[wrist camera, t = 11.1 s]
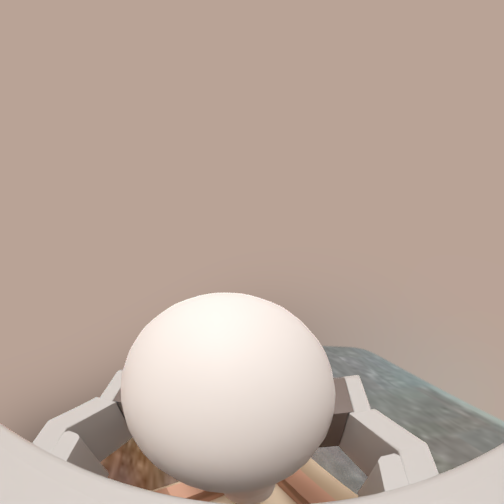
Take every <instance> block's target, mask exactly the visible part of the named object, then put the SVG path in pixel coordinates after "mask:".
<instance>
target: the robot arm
mask: <svg viewBox="0 0 504 504" xmlns="http://www.w3.org/2000/svg"><path fill="white" fill-rule="evenodd" d="M122 371H123V370H119V371H117V373H116V374H115V376H114V377H113V379H112V380H111V382H110V383H109V385H108V386H107V388H106V389H105V391H104V392H103V394H102V395H101V397H100V398H98V397H96V398H94V399H92V400H90V401H88V402H86V403H84V404H82V405H80V406H78V407H76V408H74V409H72V410H70V411H68V412H66V413H64V414H62V415H59V416H57V417H55V418H53V419H51V420H49V421H48V422H47V423H46V425H45V426H44V427H43V429H42V430H41V432H40V433H39V434H38V436H37V437H36V439H35V440H34V442H33V443H31V442H29V441H27V440H26V439H24V438H22V437H21V436H19V435H18V434H16V433H14V432H13V431H11V430H10V429H8V428H7V427H5V426H4V425H2V424H1V423H0V504H226V503H216V502H207V501H200V500H193V499H187V498H181V497H176V496H171V495H166V494H162V493H158V492H153V491H149V490H145V489H142V488H138V487H135V486H131V485H128V484H125V483H121V482H118V481H115V480H112V479H109V478H107V477H108V475H109V474H108V471H107V470H106V469H105V468H104V467H103V465H102V464H101V463H100V462H101V461H102V460H103V459H105V458H106V457H107V456H109V455H110V454H111V453H113V452H114V451H115V450H117V449H118V448H119V447H121V446H122V445H123V444H125V443H126V442H127V441H128V440H130V439H131V438H132V435H131V433H130V431H129V430H128V426H127V423H126V420H125V416H124V412H123V408H122V403H121V377H122ZM333 379H334V386H335V393H336V394H335V406H334V413H333V418H332V422H331V424H330V427H329V430H328V432H327V435H326V437H325V439H324V440H323V442H322V443H321V445H320V446H319V447H331V446H339V447H340V448H341V449H342V451H343V452H344V453H345V454H346V455H347V456H348V457H349V458H350V459H351V460H352V461H353V462H354V463H355V464H356V465H357V466H358V467H359V468H360V469H361V470H362V471H363V472H364V473H365V474H366V475H367V476H368V478H367V479H366V481H365V482H364V484H363V485H362V487H361V488H360V490H359V491H358V497H357V498H351V499H345V500H339V501H331V502H323V503H313V504H504V443H503V444H501V445H499V446H498V447H496V448H494V449H492V450H490V451H489V452H487V453H485V454H483V455H481V456H479V457H477V458H475V459H473V460H471V461H469V462H467V463H465V464H462V465H460V466H458V467H456V468H453V469H451V470H449V471H446V472H444V473H441V474H439V473H438V470H437V468H436V465H435V463H434V460H433V458H432V455H431V453H430V450H429V448H428V445H427V443H425V442H424V441H422V440H420V439H419V438H417V437H416V436H414V435H413V434H411V433H410V432H408V431H407V430H405V429H404V428H402V427H401V426H399V425H398V424H396V423H395V422H393V421H392V420H390V419H389V418H388V417H386V416H385V415H383V414H382V413H380V412H379V411H377V410H376V409H373V410H371V408H370V405H369V402H368V399H367V396H366V393H365V390H364V388H363V385H362V382H361V379H360V377H359V376H358V375H355V376H347V377H338V378H333Z"/></svg>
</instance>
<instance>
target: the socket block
mask: <svg viewBox="0 0 504 504" xmlns="http://www.w3.org/2000/svg"><path fill="white" fill-rule="evenodd" d="M152 491H153V492H158V493H162V494H166V495H171V496H176V497H181V498H187V499H193V500H200V501H207V502H216V503H226V504H237V503H234V502H232V501H231V500H229V499H228V498H227V497H226V496H225V494H224V493H217V492H209V491H204V490H201V489H198V488H194V487H191V486H188V485H186V484H184V483H182V482H177V483H174V484H171V485H168V486H165V487H162V488H158V489H155V490H152ZM357 497H358V495H356V494H355V493H354V492H352V491H351V490H350V489H348V488H347V487H346V486H344V485H343V484H342V483H341V482H339V481H338V480H337V479H335V478H334V477H333V476H332V475H331V474H329V473H328V472H327V471H326V470H324V469H323V468H322V467H321V466H320V465H318V464H317V463H316V462H315V461H314V460H313V459H311V458H310V459H309V461H308V462H307V463H306V464H305V465H303V466H302V467H301V468H300V469H299V470H298V471H296V472H295V473H294V474H293V475H291V476H289V477H288V478H286V479H284V480H282V481H280V482H278V483H276V484H275V488H274V491H273V493H272V494H271V496H270V497H269V498H268V499H266V500H265V501H263V502H261V503H259V504H313V503H323V502H331V501H339V500H345V499H351V498H357Z"/></svg>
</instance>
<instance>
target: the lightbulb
mask: <svg viewBox="0 0 504 504" xmlns="http://www.w3.org/2000/svg"><path fill="white" fill-rule="evenodd" d="M335 394H336V393H335V386H334V379H333V374H332V370H331V366H330V363H329V361H328V358H327V356H326V353H325V351H324V349H323V347H322V346H321V344H320V342H319V341H318V339H317V338H316V337H315V336H314V335H313V333H312V332H311V331H310V330H309V329H308V328H307V327H306V326H305V324H304V323H303V322H302V321H300V320H299V319H298V318H296V317H295V316H294V315H293V314H291V313H290V312H289V311H287V310H286V309H284V308H283V307H281V306H279V305H277V304H275V303H273V302H270V301H267V300H264V299H262V298H259V297H255V296H252V295H247V294H241V293H211V294H205V295H200V296H196V297H193V298H190V299H187V300H184V301H181V302H179V303H177V304H175V305H173V306H171V307H169V308H168V309H166V310H165V311H163V312H162V313H161V314H160V315H158V316H157V317H155V318H154V319H153V320H152V321H151V322H149V323H148V324H147V325H146V326H145V327H144V328H143V330H142V331H141V333H140V334H139V336H138V337H137V339H136V341H135V342H134V344H133V345H132V347H131V348H130V351H129V354H128V356H127V359H126V362H125V365H124V368H123V371H122V377H121V403H122V408H123V412H124V416H125V420H126V423H127V426H128V430H129V431H130V433H131V435H132V437H133V438H134V440H135V442H136V444H137V445H138V447H139V448H140V449H141V451H142V452H143V454H144V455H145V456H146V457H147V458H148V459H149V460H150V461H151V462H152V463H153V464H154V465H155V466H156V467H157V468H159V469H160V470H162V471H163V472H165V473H167V474H168V475H170V476H172V477H173V478H175V479H177V480H179V481H180V482H182V483H184V484H186V485H188V486H191V487H194V488H198V489H201V490H204V491H209V492H217V493H224V494H225V496H226V497H227V498H228V499H229V500H231V501H232V502H234V503H237V504H259V503H261V502H263V501H265V500H266V499H268V498H269V497H270V496H271V494H272V493H273V491H274V488H275V484H276V483H278V482H280V481H282V480H284V479H286V478H288V477H289V476H291V475H293V474H294V473H295V472H296V471H298V470H299V469H300V468H301V467H302V466H303V465H305V464H306V463H307V462H308V461H309V459H310V458H311V457H312V455H313V454H314V453H315V451H316V450H317V449H318V447H319V446H320V445H321V443H322V442H323V440H324V439H325V437H326V435H327V432H328V430H329V427H330V424H331V422H332V418H333V413H334V406H335Z"/></svg>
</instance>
